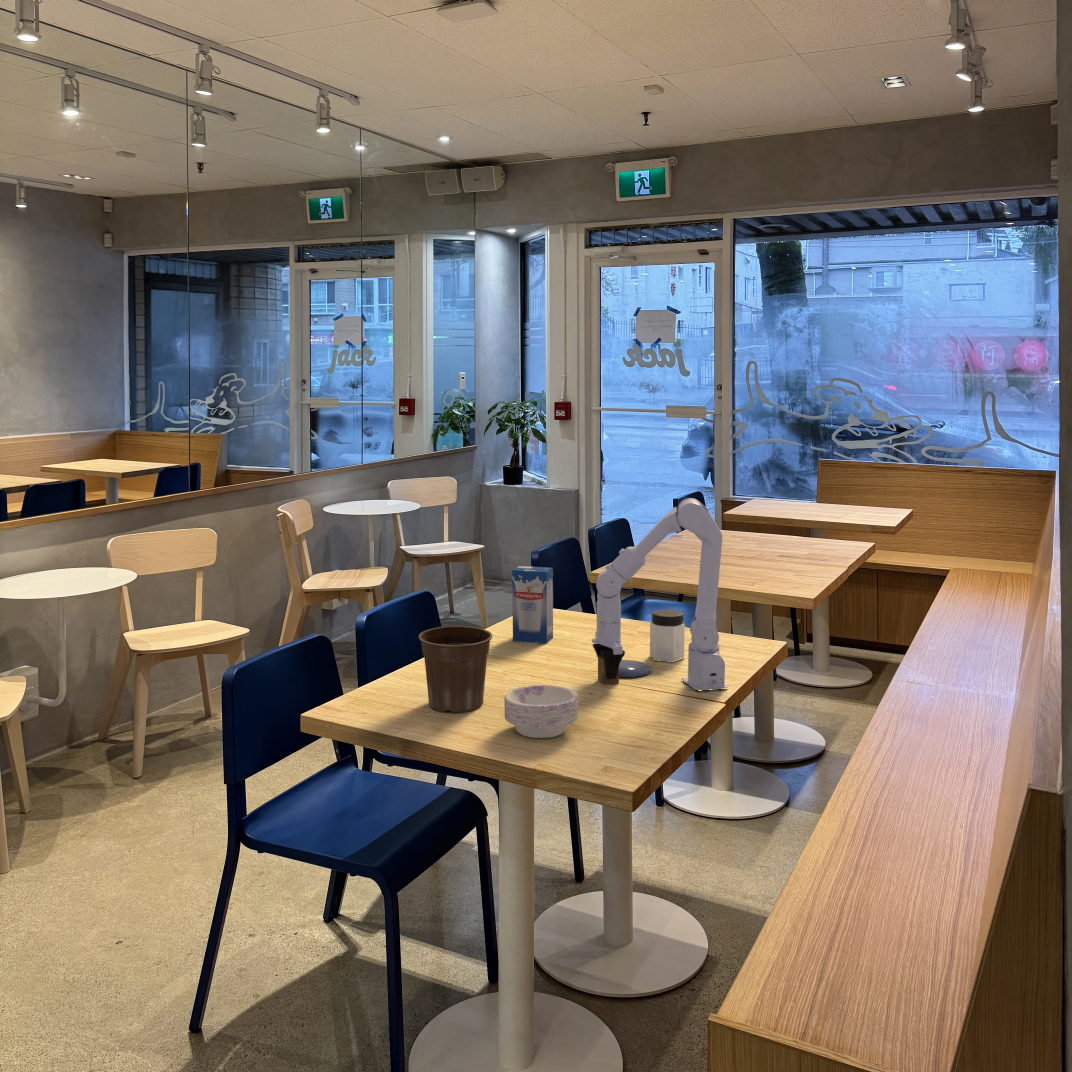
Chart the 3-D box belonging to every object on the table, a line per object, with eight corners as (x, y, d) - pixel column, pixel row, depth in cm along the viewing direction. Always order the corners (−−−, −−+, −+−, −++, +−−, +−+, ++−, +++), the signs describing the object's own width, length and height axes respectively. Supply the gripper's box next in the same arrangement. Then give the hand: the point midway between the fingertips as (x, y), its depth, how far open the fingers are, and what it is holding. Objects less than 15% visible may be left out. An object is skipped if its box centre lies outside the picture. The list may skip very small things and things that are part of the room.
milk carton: (512, 640, 275) (511, 570, 272) (519, 635, 281) (518, 565, 278) (547, 643, 272) (546, 571, 269) (553, 637, 278) (553, 567, 275)
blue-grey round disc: (657, 675, 243) (657, 671, 242) (610, 679, 240) (611, 675, 239) (640, 662, 254) (640, 658, 254) (595, 665, 251) (595, 662, 251)
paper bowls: (536, 713, 216) (535, 678, 215) (592, 728, 207) (592, 692, 206) (489, 733, 205) (488, 696, 203) (547, 750, 195) (546, 711, 194)
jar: (668, 664, 252) (669, 618, 250) (643, 658, 258) (644, 613, 256) (690, 657, 258) (691, 612, 256) (665, 651, 264) (666, 607, 262)
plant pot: (508, 704, 222) (507, 634, 219) (451, 722, 211) (449, 649, 209) (462, 688, 234) (460, 622, 231) (406, 704, 223) (404, 634, 220)
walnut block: (618, 683, 237) (619, 658, 236) (602, 684, 236) (603, 660, 235) (613, 678, 241) (613, 654, 240) (597, 679, 240) (597, 655, 239)
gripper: (583, 614, 242) (583, 668, 244) (602, 629, 228) (601, 686, 230) (611, 612, 244) (610, 666, 246) (631, 627, 230) (630, 683, 232)
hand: (608, 675), depth 238 cm, fingers closed on walnut block, 4 cm apart
